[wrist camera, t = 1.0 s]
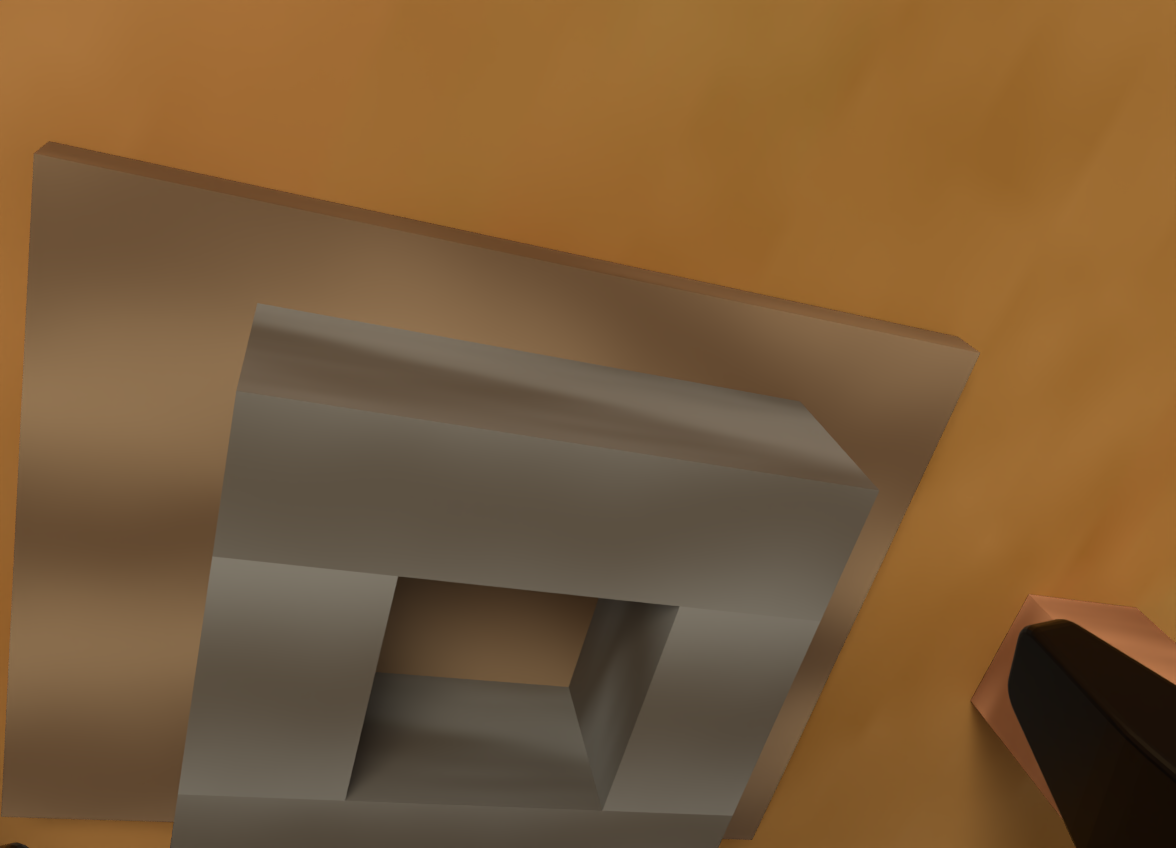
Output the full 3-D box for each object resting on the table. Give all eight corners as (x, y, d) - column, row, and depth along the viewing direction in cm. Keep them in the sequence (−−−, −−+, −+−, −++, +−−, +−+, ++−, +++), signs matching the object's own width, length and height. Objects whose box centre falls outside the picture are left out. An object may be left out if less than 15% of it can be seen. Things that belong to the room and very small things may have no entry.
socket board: (741, 813, 31) (804, 964, 26) (13, 784, 25) (-60, 973, 20) (957, 337, 24) (1089, 431, 20) (48, 140, 18) (-47, 215, 14)
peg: (1075, 709, 32) (1347, 1014, 23) (970, 700, 30) (1216, 1019, 22) (1136, 607, 30) (1453, 894, 21) (1028, 594, 29) (1318, 891, 20)
